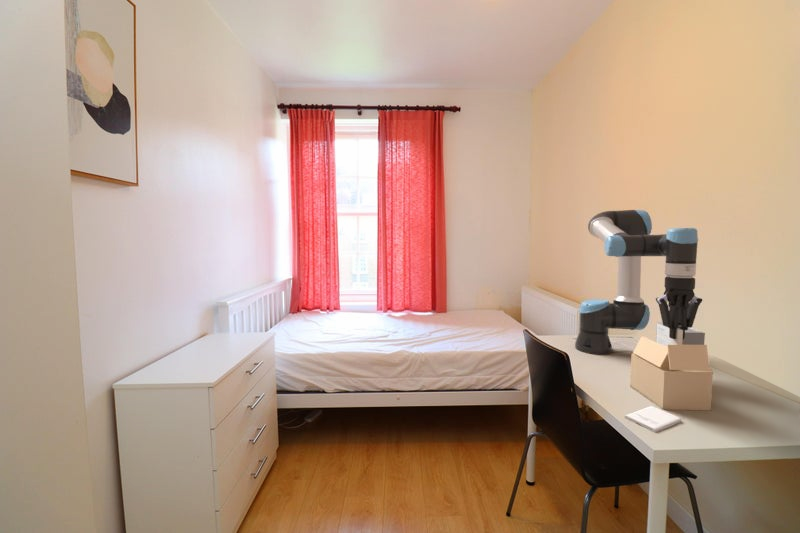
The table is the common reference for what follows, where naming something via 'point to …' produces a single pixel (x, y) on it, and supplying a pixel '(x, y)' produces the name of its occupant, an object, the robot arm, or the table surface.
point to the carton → (671, 385)
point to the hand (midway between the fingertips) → (676, 348)
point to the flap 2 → (688, 357)
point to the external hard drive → (653, 418)
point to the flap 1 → (651, 351)
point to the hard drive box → (690, 339)
